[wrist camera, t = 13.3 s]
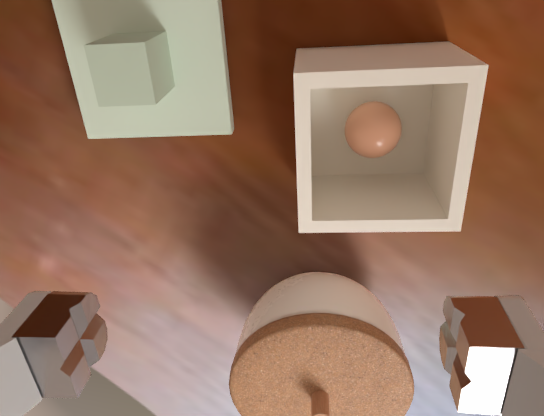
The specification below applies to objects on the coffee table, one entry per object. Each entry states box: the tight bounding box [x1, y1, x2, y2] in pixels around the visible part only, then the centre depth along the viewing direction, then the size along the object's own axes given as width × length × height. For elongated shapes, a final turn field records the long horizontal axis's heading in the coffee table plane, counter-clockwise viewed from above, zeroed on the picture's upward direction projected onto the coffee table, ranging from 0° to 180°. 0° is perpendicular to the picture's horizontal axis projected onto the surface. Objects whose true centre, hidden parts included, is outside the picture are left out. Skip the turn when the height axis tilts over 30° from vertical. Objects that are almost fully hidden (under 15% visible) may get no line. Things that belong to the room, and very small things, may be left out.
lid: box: [52, 0, 234, 139], centre depth 23 cm, size 8×8×4 cm
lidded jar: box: [229, 272, 414, 416], centre depth 29 cm, size 11×11×9 cm
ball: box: [344, 101, 402, 158], centre depth 24 cm, size 3×3×3 cm
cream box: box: [293, 41, 489, 233], centre depth 23 cm, size 8×8×6 cm
